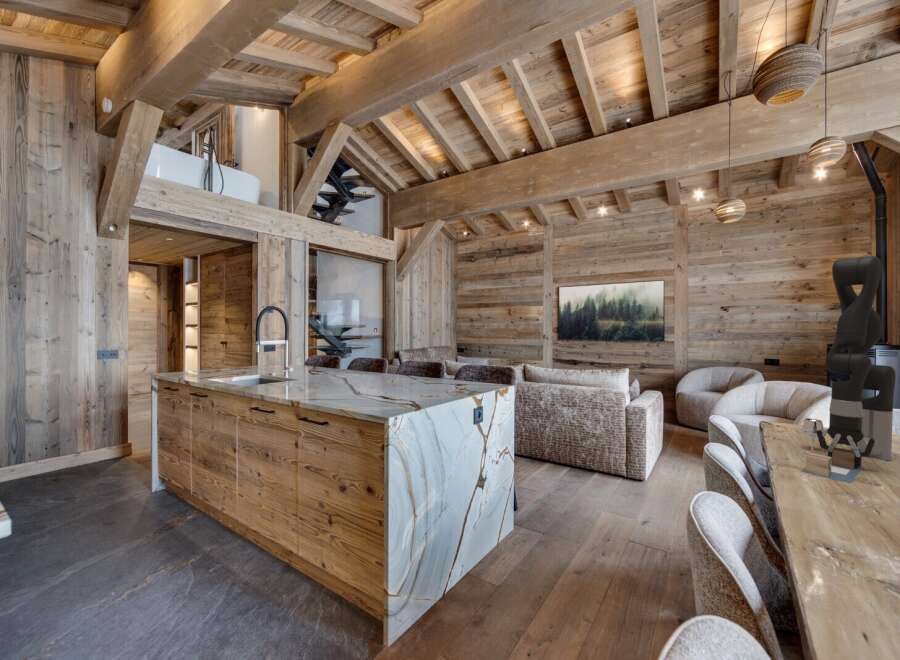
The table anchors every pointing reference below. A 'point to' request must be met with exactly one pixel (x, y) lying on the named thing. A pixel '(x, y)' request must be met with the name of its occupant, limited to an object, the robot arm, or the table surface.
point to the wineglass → (812, 428)
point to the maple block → (818, 464)
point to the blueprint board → (841, 473)
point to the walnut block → (843, 458)
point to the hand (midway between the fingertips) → (843, 465)
